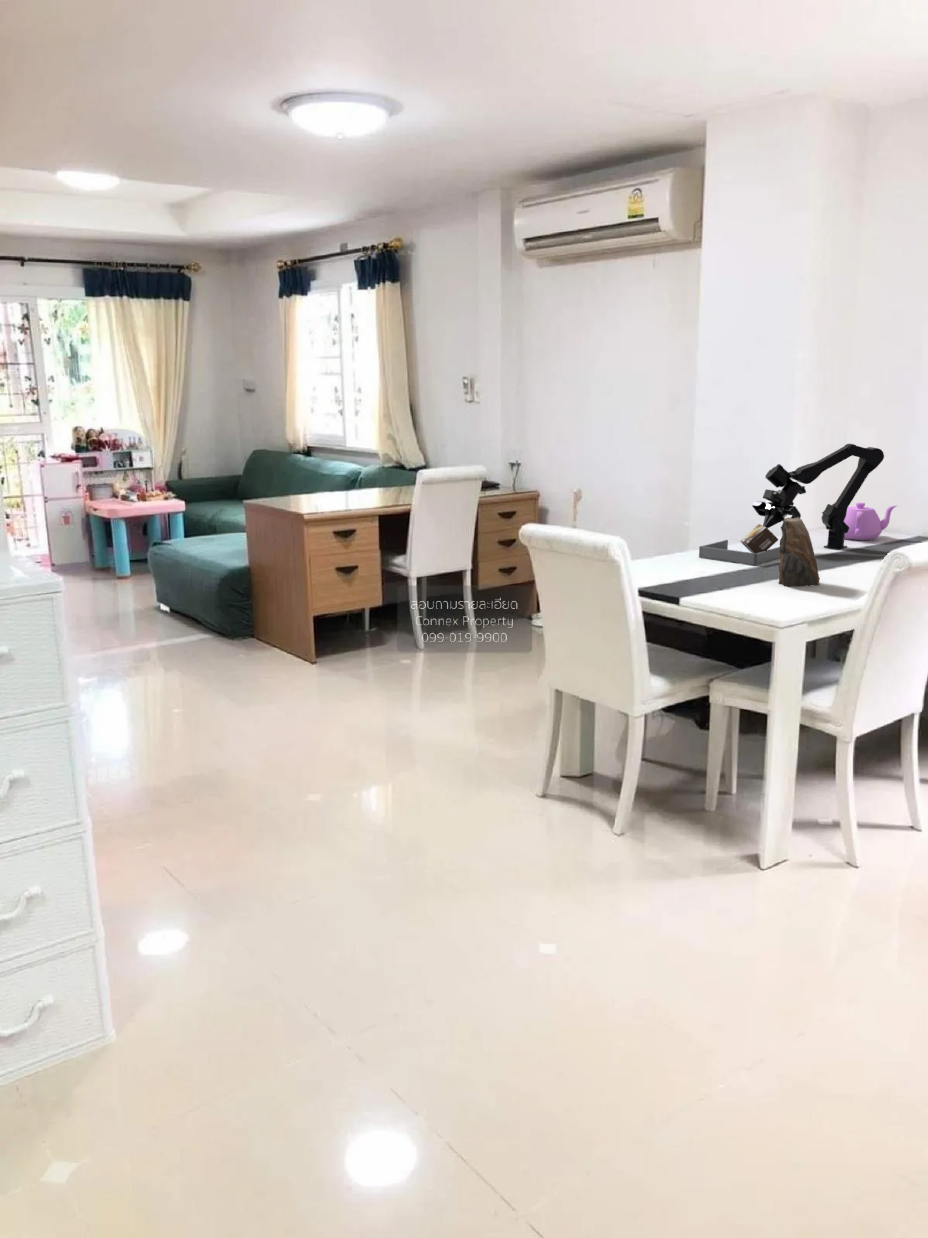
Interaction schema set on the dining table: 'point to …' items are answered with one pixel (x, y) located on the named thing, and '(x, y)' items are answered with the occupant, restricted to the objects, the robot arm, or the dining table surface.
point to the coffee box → (759, 539)
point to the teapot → (865, 522)
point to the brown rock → (796, 555)
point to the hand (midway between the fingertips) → (763, 528)
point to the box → (736, 554)
